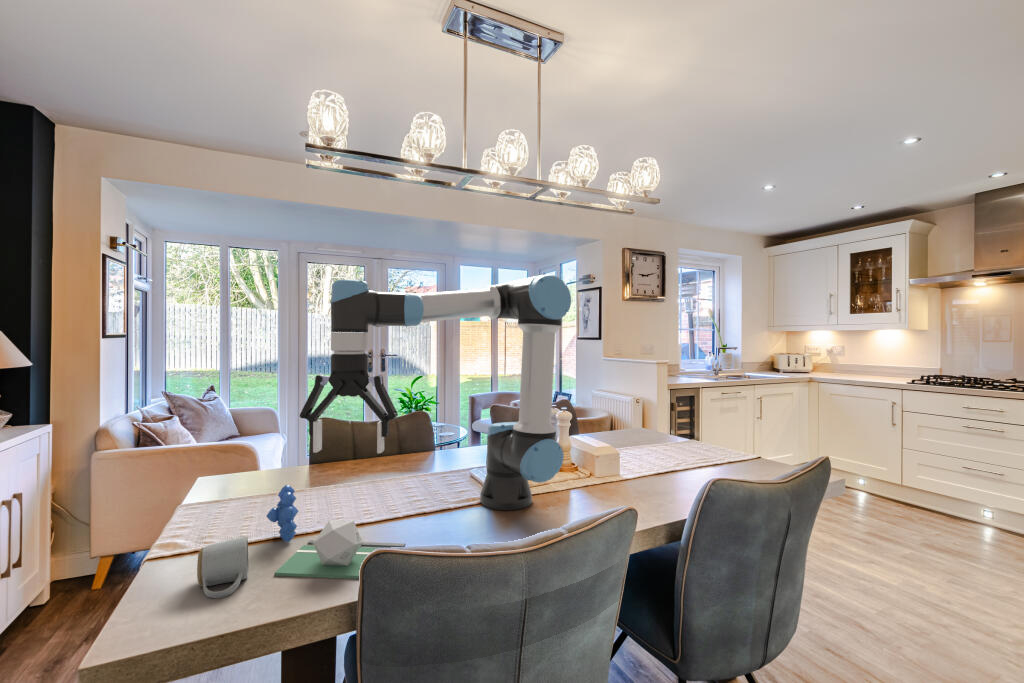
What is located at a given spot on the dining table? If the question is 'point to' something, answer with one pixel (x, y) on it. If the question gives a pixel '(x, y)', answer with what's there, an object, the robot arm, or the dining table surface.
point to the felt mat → (311, 566)
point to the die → (338, 543)
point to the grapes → (285, 513)
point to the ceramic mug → (223, 565)
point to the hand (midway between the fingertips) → (349, 451)
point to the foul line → (375, 544)
